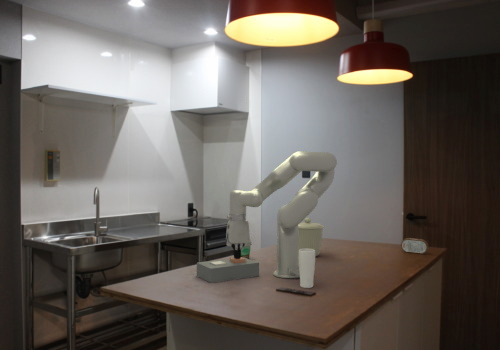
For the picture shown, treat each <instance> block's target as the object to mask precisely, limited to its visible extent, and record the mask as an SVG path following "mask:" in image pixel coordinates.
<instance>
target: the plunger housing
mask: <svg viewBox="0 0 500 350" xmlns="http://www.w3.org/2000/svg"><path fill="white" fill-rule="evenodd" d="M242 258H244V257H242ZM245 259H246V262H243V263H233V262H230V258H225V259H218V260H208V261H199V262H196V277H198V278H199V279H202V280H204V281H207V283H209V284H212V283H213V284H214V283H220V281H221V282H226V281H227V280H228V281H234V280H242V279H247V278H248V279H249V278H257V277H259V276H260V262H258V261H256V260H253V259H250V258H249V259H247V258H245ZM217 261H222V262H224V263H226V265H218V266H214V265H212V264H210V262H217ZM228 281H227V282H228Z"/></svg>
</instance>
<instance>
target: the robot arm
mask: <svg viewBox="0 0 500 350" xmlns="http://www.w3.org/2000/svg"><path fill="white" fill-rule="evenodd" d="M337 164H338V162H337V157H336V156H335V155H334V154H333V153H331V152H328V151H327V152H325V151H323V152H322V151H307V150H306V151H305V150H300V151H299V150H298V151H296V152H294V153H292V154H291V155H290V156H289V157H287V159H284V161H283V162H282V163H281V164H280V165H278V166H277V167H276V168H275V169H273V170H272V171H271V172H270V173H269V174H268V175H267V176H266V177H265V178H264V179H263V180H262V181H260V182H259V183H258V184H257V185H256V186H255V187H253V188H252V189H251V190H247V191H245V190H239V189H236V190H235V189H234V190H231V191H230V193H229V214H228V215H227V216H226V219H228V222H227V225H226V233H225V241H226V247H230V248H232V250H233V258H236V259H240V258H241V250H242V248H243V247H244V245H247V244H248V242H249V240H250V238H251V237H250V227H249V220H247V207H250V208H258V207H260V206H261V205H262V204H263V202H264V201H265V200H266V199H267V198H269V197H270V196H271V195H272V194H274V193H275V192H277V190H280V189H282V188H284V187H285V186H286V185H287V184H289V183H290V182H291V181H292V180H293V179H294V178H295V177H297V176H298V175H300V173H302V172H315V173H314V175H313V176H312V177H311V178H310V179H309V181H307V183H306V184H305V185H304V186H302V187H301V188H300V189H299V190H298V191H296V194H295V195H294V197H293V198H292V199H291V200H290V201H288V203H287V204H285V205H282V206H280V207H279V209H278V210H277V213H276V226H277V227H276V229H277V231H276V233H277V235H276V236H277V237H276V255H277V256H276V270H275V271H273V276H274V277H275V278H276V277H277V278H282V279H297V278H300V273H299V256H298V224H300V223H301V222H303V221H304V220H305V218H308V216H309V215H310V214H311V213H312V212H313V211H314V209H316V207H317V206H318V203H319V199H320V198H321V197H322V196H323V195H324V193H326V191H327V190H328V189H329V188H330V187H331V185H332V184H333V182H334V178H335V168H336V167H337ZM250 241H251V240H250Z"/></svg>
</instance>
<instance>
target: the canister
mask: <svg viewBox="0 0 500 350" xmlns="http://www.w3.org/2000/svg"><path fill="white" fill-rule="evenodd" d="M303 221H304V222H303ZM303 221H302V222H301V223H300V224H298V257H299V249H314V250H315V257H318V256H319V255H320V252H321V246H322V240H323V233H324V232H323V230H324V228H325V226H324V225H322V224H321V223H319V222H311V221H312V220H311V218H310V217H306V218H305V219H304V220H303Z"/></svg>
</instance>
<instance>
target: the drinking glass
mask: <svg viewBox="0 0 500 350" xmlns="http://www.w3.org/2000/svg"><path fill="white" fill-rule="evenodd" d="M315 264H316V256H315V250H314V249H299V256H298V266H299V273H300V277H299V286H300V287H301V288H304V289H311V288H313V287H314V278H315V277H314V276H315V267H316V265H315Z"/></svg>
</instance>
